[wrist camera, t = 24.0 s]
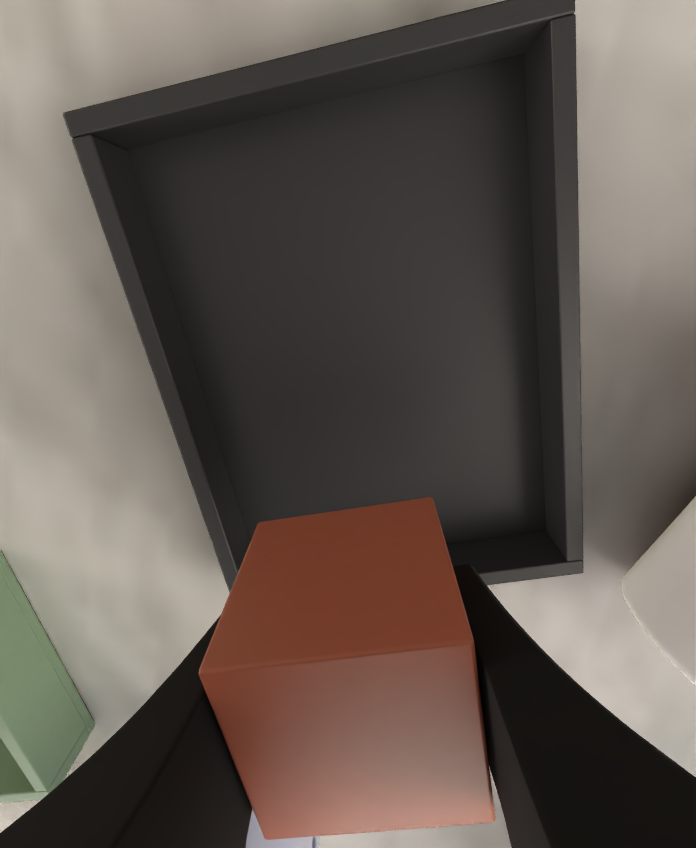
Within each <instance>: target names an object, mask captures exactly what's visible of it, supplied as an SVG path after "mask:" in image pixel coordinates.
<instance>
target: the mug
mask: <svg viewBox="0 0 696 848" xmlns="http://www.w3.org/2000/svg"><path fill="white" fill-rule="evenodd" d="M621 589H622V593H623V596H624V599H625V601H626V603H627V605H628V607H629V609H630V610H631V612H632V614H633V615H634V617H635V618H636V620H637V621H638V623H639V624H640V625H641V627H642V628H643V629H644V631H645V632H646V633H647V634H648V636H649V637H650V638H651V639H652V640H653V642H654V643H655V644H656V645H657V646H658V648H659V649H660V650H661V651H662V652H663V653H664V654H665V655H666V656H667V658H668V659H669V660H670V661H671V662H672V663H673V664H674V665H675V666H676V667H677V668H678V669H679V670H680V671H681V672H682V673H683V674H684V675H685V676H686V677H687V678H688V679H689V680H690V681H691V682H692V683H693V684H694V685H695V686H696V496H695V498H694V499H693V500H692V501H691V502H690V503H689V504H688V505H687V506H686V508H685V509H684V510H683V511H682V512H681V513H680V514H679V515H678V516H677V518H676V519H675V520H674V521H673V522H672V523H671V524H670V525H669V526H668V528H667V529H666V530H665V531H664V532H663V533H662V534H661V535H660V536H659V538H658V539H657V540H656V541H655V542H654V543H653V544H652V545H651V546H650V548H649V549H648V550H647V551H646V552H645V553H644V554H643V555H642V556H641V558H640V559H639V560H638V561H637V562H636V563H635V564H634V565H633V566H632V568H631V569H630V570H629V571H628V572H627V573H626V574H625V575H624V577H623V578H622V582H621Z"/></svg>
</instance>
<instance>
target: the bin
mask: <svg viewBox="0 0 696 848" xmlns="http://www.w3.org/2000/svg"><path fill="white" fill-rule="evenodd" d="M94 726H95V723H94V721H93V719H92V717H91V715H90V713H89V712H88V710H87V708H86V706H85V704H84V702H83V701H82V699H81V697H80V695H79V693H78V691H77V690H76V688H75V686H74V684H73V682H72V680H71V678H70V677H69V675H68V673H67V671H66V669H65V667H64V666H63V664H62V662H61V660H60V658H59V656H58V655H57V653H56V651H55V649H54V647H53V645H52V644H51V642H50V640H49V638H48V636H47V634H46V632H45V631H44V629H43V627H42V625H41V623H40V621H39V620H38V618H37V616H36V614H35V612H34V610H33V609H32V607H31V605H30V603H29V601H28V599H27V598H26V596H25V594H24V592H23V590H22V588H21V586H20V585H19V583H18V581H17V579H16V577H15V575H14V574H13V572H12V570H11V568H10V566H9V564H8V563H7V561H6V559H5V557H4V555H3V553H2V552H1V550H0V803H10V802H21V801H32V800H42V799H43V798H44V797H45V796H46V795H48V794H49V793H50V792H51V791H52V790H53V789H55V788H56V787H57V786H58V785H59V784H60V783H61V782H63V780H64V778H65V776H66V775H67V773H68V771H69V769H70V768H71V766H72V764H73V763H74V761H75V759H76V757H77V756H78V754H79V752H80V750H81V749H82V747H83V745H84V744H85V742H86V740H87V738H88V737H89V735H90V733H91V732H92V730H93V728H94Z"/></svg>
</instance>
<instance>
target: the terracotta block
mask: <svg viewBox="0 0 696 848" xmlns="http://www.w3.org/2000/svg"><path fill="white" fill-rule="evenodd" d="M199 676H200V679H201V681H202V684H203V686H204V689H205V691H206V694H207V696H208V699H209V701H210V704H211V706H212V709H213V711H214V714H215V716H216V719H217V721H218V724H219V726H220V729H221V731H222V734H223V736H224V739H225V741H226V744H227V746H228V749H229V751H230V754H231V756H232V759H233V761H234V764H235V766H236V769H237V771H238V774H239V776H240V779H241V781H242V784H243V786H244V789H245V791H246V794H247V796H248V799H249V801H250V803H251V806H252V808H253V811H254V813H255V816H256V818H257V821H258V823H259V826H260V828H261V831H262V833H263V836H264V838H265V839H267V840H274V839H287V838H300V837H313V836H326V835H339V834H352V833H365V832H378V831H391V830H404V829H417V828H430V827H443V826H456V825H469V824H482V823H492V822H494V821H495V812H494V803H493V795H492V787H491V778H490V770H489V762H488V753H487V745H486V737H485V728H484V720H483V711H482V703H481V695H480V686H479V678H478V670H477V661H476V653H475V645H474V639H473V635H472V632H471V628H470V625H469V621H468V618H467V614H466V611H465V608H464V604H463V601H462V597H461V594H460V590H459V587H458V583H457V580H456V576H455V573H454V570H453V566H452V563H451V559H450V556H449V552H448V549H447V545H446V542H445V538H444V535H443V532H442V528H441V525H440V521H439V518H438V514H437V511H436V507H435V504H434V500H433V499H432V497H427V498H420V499H413V500H407V501H400V502H393V503H386V504H379V505H373V506H366V507H359V508H352V509H345V510H339V511H332V512H325V513H318V514H312V515H305V516H298V517H291V518H284V519H278V520H271V521H264V522H259V523H258V525H257V527H256V530H255V532H254V535H253V537H252V540H251V542H250V544H249V547H248V549H247V552H246V554H245V557H244V559H243V562H242V564H241V567H240V569H239V572H238V574H237V577H236V579H235V582H234V584H233V587H232V589H231V592H230V594H229V597H228V599H227V602H226V604H225V606H224V609H223V611H222V614H221V616H220V619H219V621H218V624H217V626H216V629H215V631H214V634H213V636H212V639H211V641H210V644H209V646H208V649H207V651H206V654H205V656H204V659H203V661H202V664H201V666H200V669H199Z"/></svg>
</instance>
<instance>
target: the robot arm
mask: <svg viewBox="0 0 696 848" xmlns="http://www.w3.org/2000/svg"><path fill="white" fill-rule="evenodd" d="M453 570H454V573H455V576H456V580H457V583H458V587H459V590H460V594H461V597H462V601H463V604H464V608H465V611H466V614H467V618H468V621H469V625H470V628H471V632H472V635H473V639H474V645H475V653H476V661H477V670H478V678H479V686H480V695H481V703H482V711H483V720H484V728H485V737H486V745H487V753H488V762H489V766H490V770H491V773H492V776H493V779H494V782H495V785H496V789H497V792H498V796H499V799H500V803H501V806H502V810H503V813H504V817H505V821H506V825H507V830H508V834H509V838H510V842H511V846H512V848H696V777H694V776H693V775H691V774H690V773H689V772H687V771H686V770H685V769H684V768H682V767H681V766H680V765H678V764H677V763H676V762H674V761H673V760H672V759H670V758H669V757H668V756H666V755H665V754H664V753H662V752H661V751H660V750H658V749H657V748H656V747H654V746H653V745H652V744H650V743H649V742H648V741H646V740H645V739H644V738H642V737H641V736H640V735H638V734H637V733H636V732H634V731H633V730H632V729H631V728H629V727H628V726H627V725H626V724H624V723H623V722H622V721H621V720H620V719H618V718H617V717H616V716H615V715H613V714H612V713H611V712H610V711H609V710H607V709H606V708H605V707H604V706H603V705H601V704H600V703H599V702H598V701H597V700H596V699H595V698H593V697H592V696H591V695H590V694H589V693H588V692H587V691H585V690H584V689H583V688H582V687H581V686H580V685H579V684H578V683H576V682H575V681H574V680H573V679H572V678H571V677H570V676H569V675H568V674H567V673H566V672H565V671H564V670H563V669H562V668H561V667H559V666H558V665H557V664H556V663H555V662H554V661H553V660H552V659H551V658H550V657H549V656H548V655H547V654H546V653H545V652H544V651H543V650H542V649H541V648H540V647H539V646H538V644H537V643H536V642H535V641H534V640H533V639H532V638H531V637H530V636H529V635H528V634H527V633H526V632H525V631H524V629H523V628H522V627H521V626H520V625H519V624H518V623H517V622H516V620H515V619H514V618H513V617H512V616H511V615H510V614H509V613H508V611H507V610H506V609H505V608H504V607H503V605H502V604H501V603H500V602H499V601H498V599H497V598H496V597H495V596H494V594H493V593H492V592H491V590H490V589H489V588H488V587H487V585H486V584H485V582H484V581H483V580H482V578H481V577H480V575H479V574H478V572H477V571H476V569H475V568H474V567H473V566H472V565H470V564H465V565H457V566H453ZM220 616H221V615H220ZM219 619H220V617H219V618H218V619H217V620H216V622H215V623H214V624H213V625H212V626H211V628H210V629H209V630H208V631H207V633H206V634H205V635H204V636H203V638H202V639H201V640H200V641H199V642H198V644H197V645H196V646H195V647H194V648H193V650H192V651H191V652H190V653H189V654H188V656H187V657H186V658H185V659H184V660H183V662H182V663H181V664H180V665H179V666H178V667H177V668H176V670H175V671H174V672H173V673H172V674H171V675H170V676H169V677H168V678H167V680H166V681H165V682H164V683H163V684H162V685H161V686H160V687H159V688H158V689H157V691H156V692H155V693H154V694H153V695H152V696H151V697H150V698H149V699H148V701H147V702H146V703H145V704H144V705H143V706H142V707H141V708H140V709H139V710H138V711H137V712H136V713H135V714H134V715H133V716H132V717H131V718H130V719H129V720H128V721H127V722H126V723H125V724H124V725H123V726H122V727H121V728H120V729H119V730H118V731H117V732H116V733H115V734H114V735H113V736H112V737H111V738H110V739H109V740H108V741H107V742H106V743H105V744H104V745H103V746H102V747H101V748H100V749H99V750H98V751H96V752H95V753H94V754H93V755H92V756H91V757H90V758H89V759H88V760H87V761H85V762H84V763H83V764H82V765H81V766H80V767H79V768H77V769H76V770H75V771H74V772H73V773H72V774H71V775H69V776H68V777H67V778H66V779H65V780H64V781H63V782H61V783H60V784H59V785H58V786H57V787H56V788H55V789H53V790H52V791H51V792H50V793H49V794H48V795H46V796H45V797H44V798H43V799H42V800H41V801H40V802H38V803H37V804H36V805H35V806H34V807H32V808H31V809H30V810H29V811H27V812H26V813H25V814H24V815H22V816H21V817H20V818H19V819H17V820H16V821H15V822H14V823H12V824H11V825H10V826H9V827H7V828H6V829H5V830H4V831H2V832H1V833H0V848H318V847H319V836H313V837H300V838H287V839H274V840H267V839H265V838H264V836H263V833H262V831H261V828H260V826H259V823H258V821H257V818H256V816H255V813H254V811H253V808H252V806H251V803H250V801H249V799H248V796H247V794H246V791H245V789H244V786H243V784H242V781H241V779H240V776H239V774H238V771H237V769H236V766H235V764H234V761H233V759H232V756H231V754H230V751H229V749H228V746H227V744H226V741H225V739H224V736H223V734H222V731H221V729H220V726H219V724H218V721H217V719H216V716H215V714H214V711H213V709H212V706H211V704H210V701H209V699H208V696H207V694H206V691H205V689H204V686H203V684H202V681H201V679H200V676H199V669H200V666H201V664H202V661H203V659H204V656H205V654H206V651H207V649H208V646H209V644H210V641H211V639H212V636H213V634H214V631H215V629H216V626H217V624H218V621H219Z"/></svg>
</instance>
